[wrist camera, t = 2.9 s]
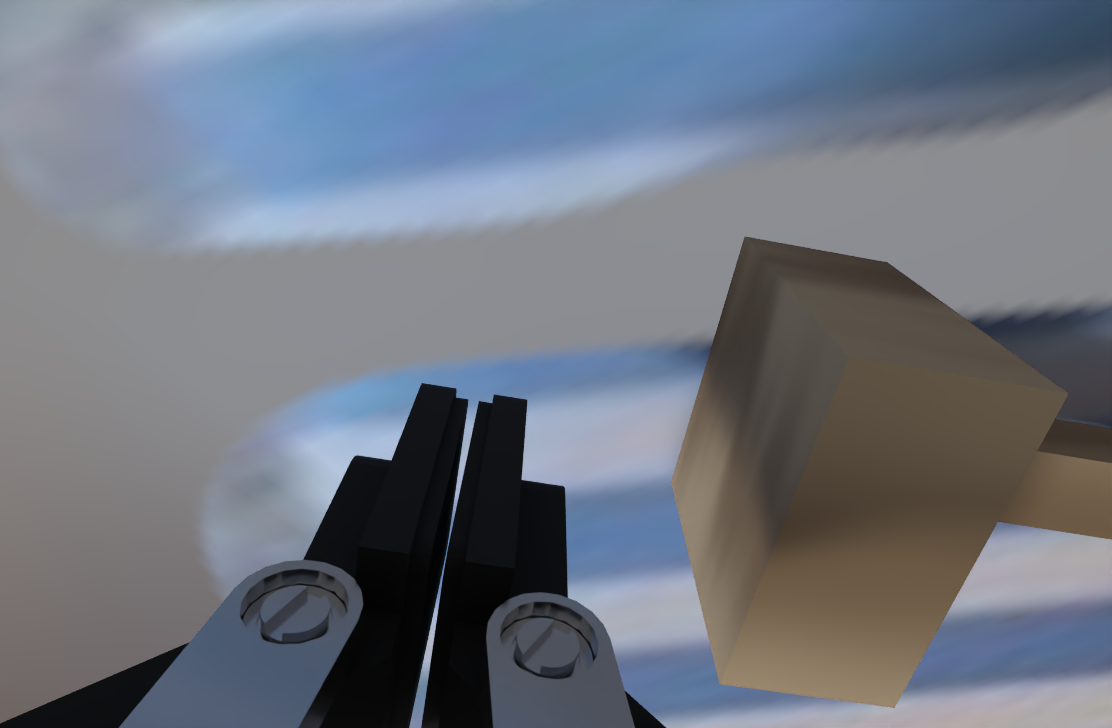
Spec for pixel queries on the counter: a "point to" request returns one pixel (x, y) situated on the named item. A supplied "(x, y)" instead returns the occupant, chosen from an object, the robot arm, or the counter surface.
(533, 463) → the counter surface
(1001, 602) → the counter surface
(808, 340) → the tan pedestal
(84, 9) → the counter surface
